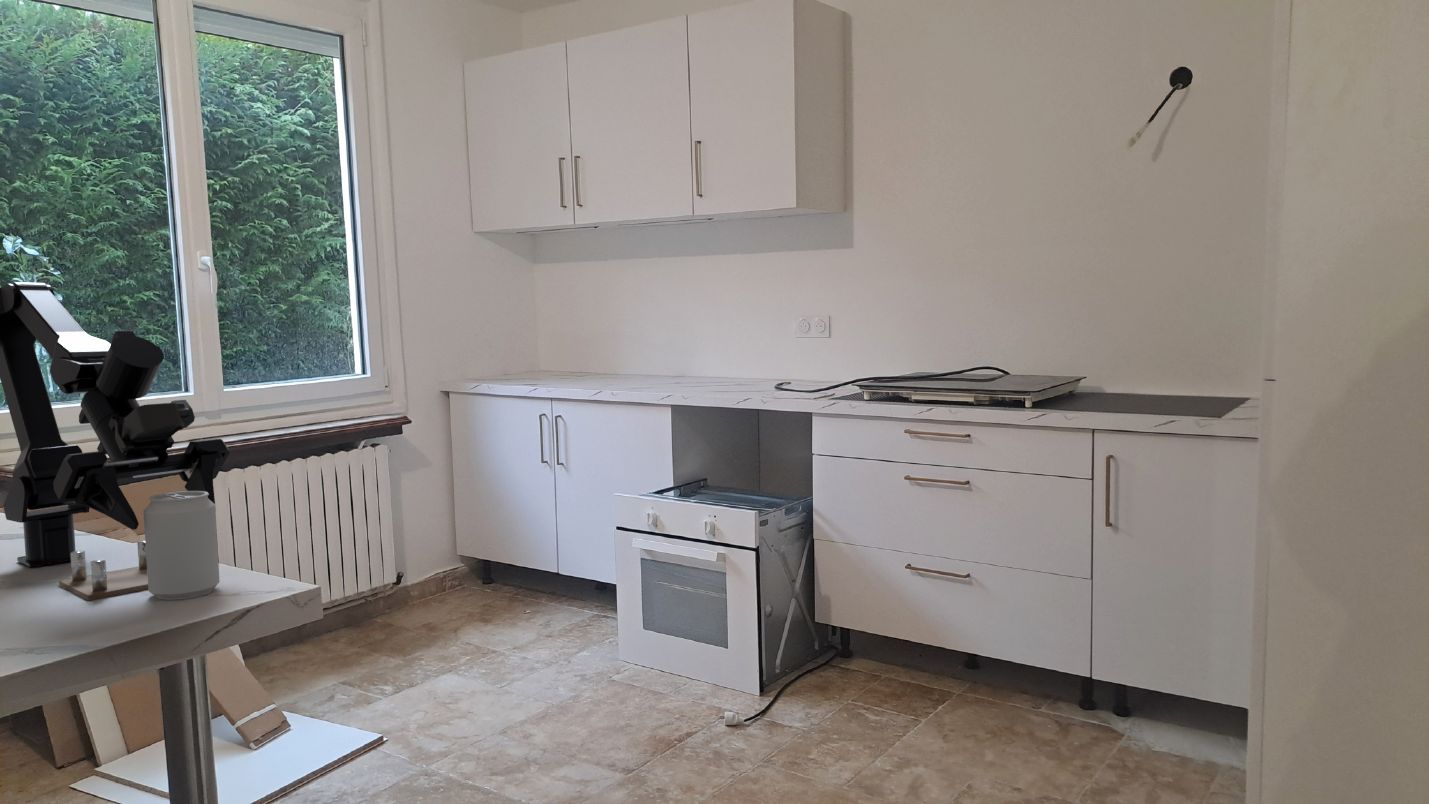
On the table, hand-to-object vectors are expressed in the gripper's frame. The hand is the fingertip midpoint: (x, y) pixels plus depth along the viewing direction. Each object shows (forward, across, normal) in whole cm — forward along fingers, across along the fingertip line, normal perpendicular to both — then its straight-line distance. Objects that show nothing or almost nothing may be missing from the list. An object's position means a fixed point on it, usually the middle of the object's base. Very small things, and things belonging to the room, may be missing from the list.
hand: (175, 520), depth 116 cm
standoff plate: (-1, -1, +13) cm, 14 cm away
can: (+7, 0, +6) cm, 9 cm away
